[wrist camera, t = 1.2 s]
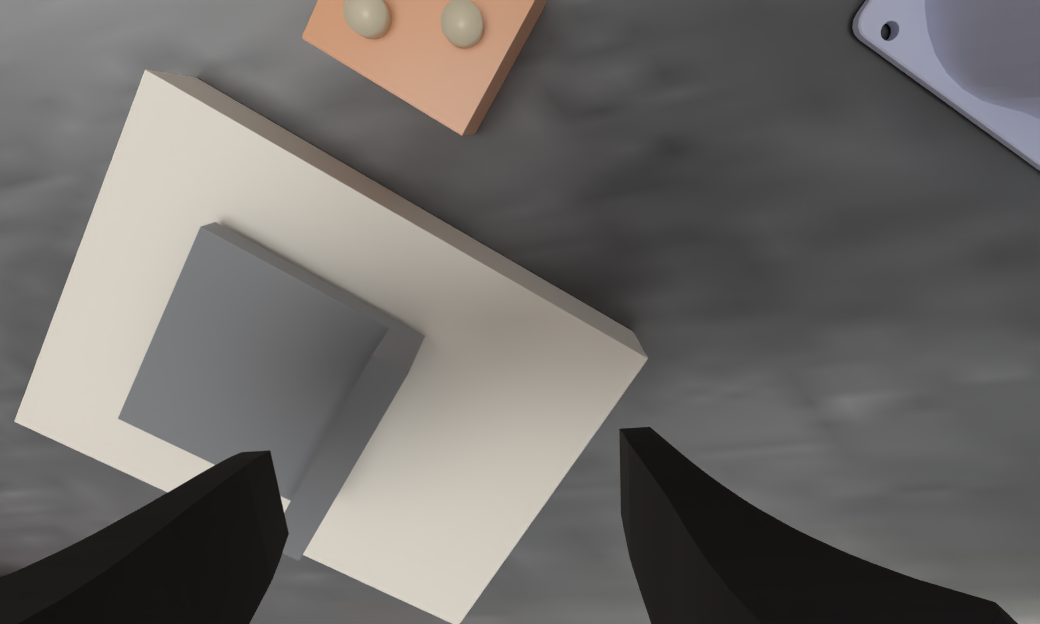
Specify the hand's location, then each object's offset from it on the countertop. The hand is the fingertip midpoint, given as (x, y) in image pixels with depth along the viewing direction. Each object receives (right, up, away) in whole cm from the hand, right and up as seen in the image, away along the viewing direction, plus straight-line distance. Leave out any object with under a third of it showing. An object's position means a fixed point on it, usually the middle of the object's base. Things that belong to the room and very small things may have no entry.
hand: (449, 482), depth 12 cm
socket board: (-5, +2, +9) cm, 10 cm away
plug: (-1, +12, +5) cm, 13 cm away
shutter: (-6, +2, +6) cm, 8 cm away
